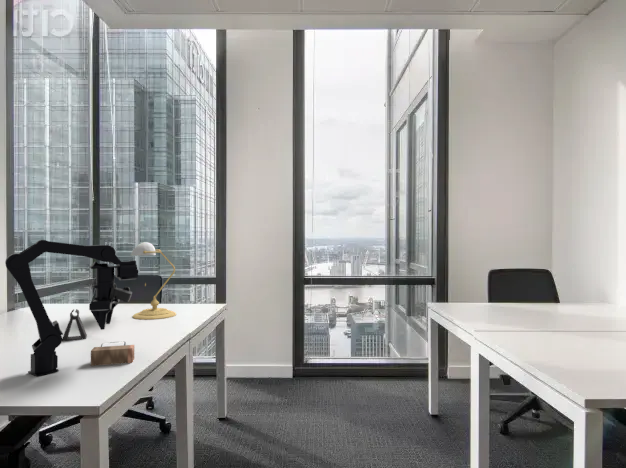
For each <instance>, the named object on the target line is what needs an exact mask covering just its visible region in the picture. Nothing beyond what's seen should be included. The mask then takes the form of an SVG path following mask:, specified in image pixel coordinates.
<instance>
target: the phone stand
mask: <svg viewBox="0 0 626 468" xmlns="http://www.w3.org/2000/svg"><path fill="white" fill-rule="evenodd" d="M74 312H75V313H76V314H77V315H74V314H73V313H74ZM74 320H75V322H76V326H77V329H78V331H79V332H78V333H79V335H75V336H74V335H73V336H69V335H70V331H71V328H72V325H73V321H74ZM87 335H88V334H87V331H86V330H85V328H84V325H83V322H82V320H81V318H80V310H79V309H72V310H71V312H70V313H69V321H68V324H67V326H66V328H65V330H64V332H63V335H62V342H68V341H69V342H70V341H77V340H78V341H80V340H81V341H82V340H86V339H87V337H88V336H87Z"/></svg>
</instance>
